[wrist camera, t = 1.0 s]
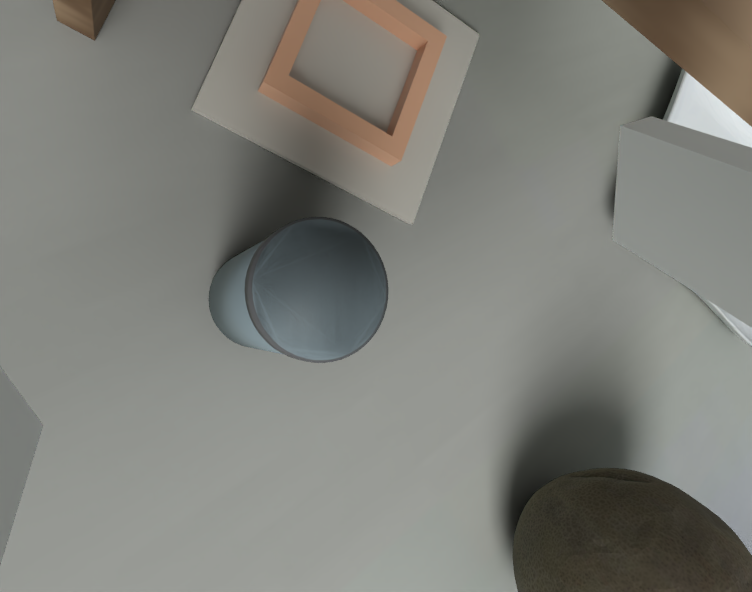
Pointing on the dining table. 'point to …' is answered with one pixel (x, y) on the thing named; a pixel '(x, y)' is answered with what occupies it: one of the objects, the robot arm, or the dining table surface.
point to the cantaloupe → (624, 538)
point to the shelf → (635, 5)
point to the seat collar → (344, 89)
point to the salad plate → (716, 119)
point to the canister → (303, 292)
